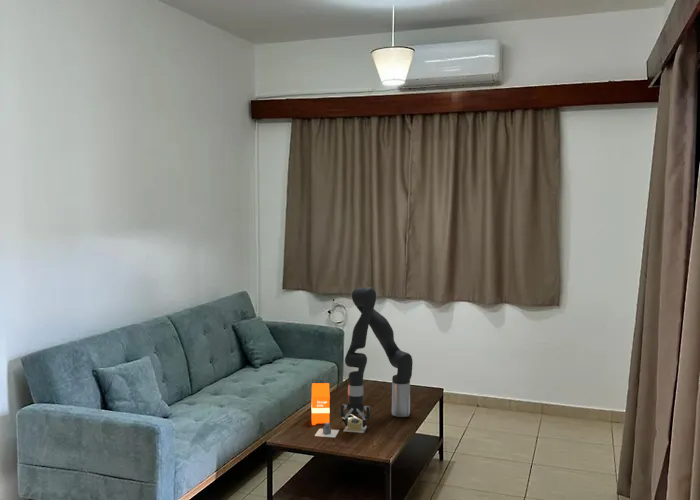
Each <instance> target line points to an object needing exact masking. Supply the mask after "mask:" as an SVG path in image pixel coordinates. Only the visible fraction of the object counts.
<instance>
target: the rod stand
mask: <svg viewBox="0 0 700 500" xmlns="http://www.w3.org/2000/svg"><path fill="white" fill-rule="evenodd" d="M352 419H353V423H358V419H359V418H352ZM367 428H368V427H367V425H366V426H365V427H362V429H361V431H352V430H348V426H346V425H345V427H344V429H343V432H349V433H360V434H361V433H362V434H364V433H365V432H366V429H367Z"/></svg>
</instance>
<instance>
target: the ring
mask: <svg viewBox="0 0 700 500" xmlns="http://www.w3.org/2000/svg"><path fill="white" fill-rule="evenodd" d="M353 419H354V418H350V419H348V430H352V431H361V429H362V427H363V419H359V418H357V419H358V423H353Z"/></svg>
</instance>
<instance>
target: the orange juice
mask: <svg viewBox="0 0 700 500" xmlns="http://www.w3.org/2000/svg"><path fill="white" fill-rule="evenodd" d="M330 400H331V395H330V383H329V382H324V383H322V382H318V383H316V382H315V383H313V382H312V384H311V409H310V410H311V426H316V425H317V424H325V423H326V422H328V423H330V414H331V413H330V412H331V411H330V405H331V404H330Z"/></svg>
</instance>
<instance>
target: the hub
mask: <svg viewBox="0 0 700 500" xmlns="http://www.w3.org/2000/svg"><path fill="white" fill-rule="evenodd" d="M322 427H323V428H319V429H318V430H317V431H316V433H315V434H314V436H315V437H323V438H336V437H337V436H338V433H339V431H340V429H332V427H331V425H330V422H329V423H328V422H326V423H324V426H322Z"/></svg>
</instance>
